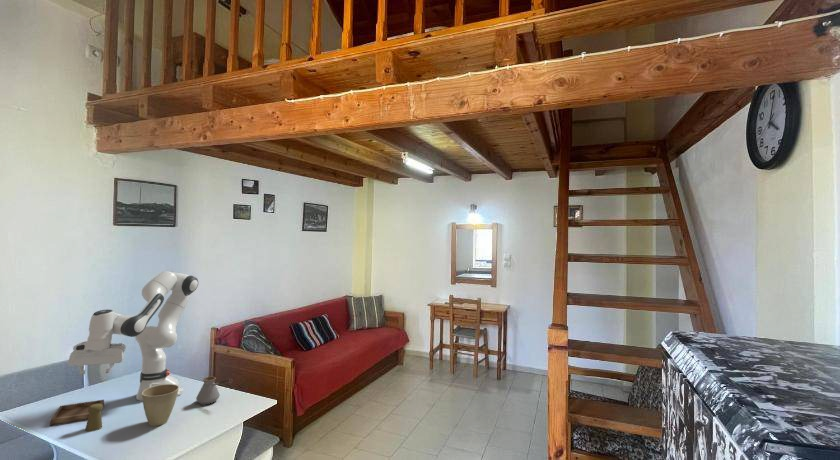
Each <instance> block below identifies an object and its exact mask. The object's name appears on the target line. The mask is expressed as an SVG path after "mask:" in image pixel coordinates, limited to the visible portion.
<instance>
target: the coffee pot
mask: <svg viewBox="0 0 840 460" xmlns="http://www.w3.org/2000/svg"><path fill="white" fill-rule="evenodd" d="M216 379H217V377H215V376H206V377H204V378H203V379H202V381H203V384H202V386H201V388H200V390H199V391H198V393H197V396H196V399H195V400H196V402H198V403H199V404H200V405H202V404H203V405H206V404H207V405H211V404H213V402H214V403H215V402H216V401H217V400H218V399H219V398H220V392H219V390H218V387H217V385H220V384H224V383H226V382H229V383H230V384H231V383H232V381H233V379H232V378H227V379H223V380H221V381H218V382H215V381H216ZM230 381H231V382H230ZM210 403H211V404H210ZM203 405H202V406H203Z"/></svg>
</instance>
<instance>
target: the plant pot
mask: <svg viewBox="0 0 840 460" xmlns="http://www.w3.org/2000/svg"><path fill="white" fill-rule="evenodd" d="M179 386H180V385H179ZM179 386H177V385H174V384H164V385H158V386H153V387H150V388H148V389H146V390H144V391H143V392H142V399H143V401H142V405H143V410H144V414H145V417H146V421H147V423H148V425H149V426H151V427H158V426H161V425H164V424H166V423H167V422H168V420H169V419H170V416H171V413H172V412H173V408H174V407H175V405H176V400H177V397H178V396H177V393H178V389H179Z"/></svg>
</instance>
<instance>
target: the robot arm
mask: <svg viewBox="0 0 840 460" xmlns="http://www.w3.org/2000/svg"><path fill="white" fill-rule="evenodd" d="M198 286H199V280H198V278H197V277H196V276H194V275H189V274H186V273H180V272H175V271H174V272H173V271H169V270H166V271H162V272H161V273H159V274H157V275H156V276H154V277H153V278H152V279H151V280H149V281H148V282H147V283H146V284H145V285H144V287H142V289H141V296H142V298H143V299H144V300H145V301H146V302H147V303H146V304H145V306H144V307H143V308H142V309H141V310H140V312H138V313H137V314H134V315H127V314H121V313H118V312H115V311H114V310H112V309H100V310H97V311H95V312H93V314H92V315H91V317H90V320H89V326H88V332H89V333H88V334H89V335H88V337H87V341H82V342H79V343H77V344H75V345H74V346H73V347H72V351H71V353H70V354H69V358H68V361H67V362H68V363H67V365H68V366H69V367H77V369H78V371H79V375H80V376H83V375H86V371H87V370H86V369H84V368H83V367H84V366H93V365H95V366H96V365H108V364H109V367H108V368H106V369H105V374H110V373H111V371H112V370H111V369H112V368H113V367H114V366H115V364H120V363H122V362H124V360H125V352H126V347H127V346H126V345H125V344H123V343H122V342H121V343H112V339H113V338H112V337H113V335H120V336H125V337H131V338H134V337H135V341H136V342H137V343H138V346H139V348H140V353H141V357H142V361H141V362H142V364H141V372H140V375H139V383H140V384H139V388H138V391H137V394H136V396H135V399H136V400H137V401H142V402H143V399H142V392H143V391H144V390H146V389H148V388H150V387H153V386H158V385H164V384H174V385H177V386H179V389H178V393H177V397H178V396H181V395H182V394H183V393H184V388H183V386H181V385H180V382H179V379H177V378H175V377H174V376H171V375H170V374H171V371H170V369H169V368H166V365H167V364H166V363H167V355H166V353H165V352H164V350H163V349H166V348H167V349H168V348H172V347H173V346H174V345H175V344H176V342H177V340H178V333H177V325H178V322H179V320H180V318H181V316H182V314H183V313H184V311H185V309H186V307H187V305H188V303H189V300H190V297H191V295H192V293H194V292H195V291H196V290H197V288H198ZM170 291H171V294H170V295H169V296H168V297H167V298H166V301H165V296H166V295H167V294H168V293H169V292H170ZM164 301H165V302H164ZM163 303H164V304H163ZM161 306H162V307H161ZM160 307H161V308H160ZM159 309H160V310H159ZM158 310H159V312H158V314H157V317H158V323H157V326H152V325H150V326H149V325H148V323H149V322H150V320H151V319H152V318H153V316H154V315H156V313H157V311H158ZM147 325H148V326H147Z"/></svg>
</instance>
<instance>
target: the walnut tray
mask: <svg viewBox="0 0 840 460" xmlns="http://www.w3.org/2000/svg"><path fill="white" fill-rule="evenodd" d="M93 404H102V405H103V407H104V405H105V399H100V400H99V399H98V400H93V401H92V400H91V401H85V402H79V403H72V404H65V405H60V406H59V407H58V408H57V410H56V412H54V414H53V415H52V416H51V419H50V420H49V427H54V426H60V425H66V424H73V423H78V422H84V421H88V417H89V412H88V409H89V407H90V406H91V405H93Z"/></svg>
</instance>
